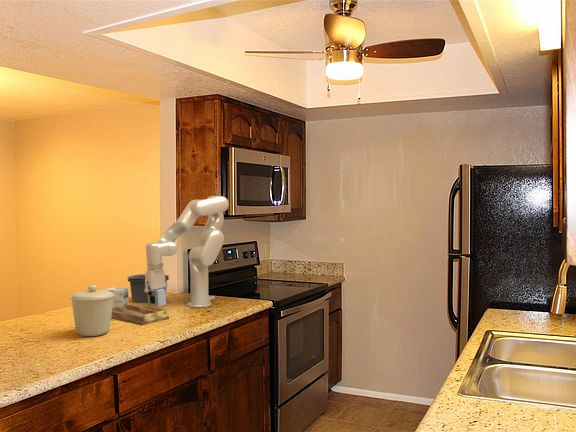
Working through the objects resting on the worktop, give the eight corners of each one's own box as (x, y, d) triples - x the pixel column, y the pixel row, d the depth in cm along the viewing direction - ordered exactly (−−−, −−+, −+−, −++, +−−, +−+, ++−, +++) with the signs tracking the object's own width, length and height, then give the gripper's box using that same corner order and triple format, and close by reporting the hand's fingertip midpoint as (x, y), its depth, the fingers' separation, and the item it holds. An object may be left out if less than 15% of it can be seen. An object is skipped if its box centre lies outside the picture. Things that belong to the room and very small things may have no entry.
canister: (81, 328, 243) (80, 281, 242) (121, 328, 243) (120, 281, 242) (63, 339, 225) (62, 288, 224) (106, 339, 225) (105, 288, 224)
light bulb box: (129, 307, 287) (129, 287, 286) (124, 310, 280) (123, 289, 279) (109, 307, 288) (109, 286, 287) (104, 310, 281) (103, 289, 280)
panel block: (155, 302, 284) (154, 287, 283) (166, 304, 279) (165, 289, 278) (148, 304, 280) (147, 289, 279) (158, 306, 275) (157, 291, 274)
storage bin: (124, 303, 298) (124, 277, 298) (138, 297, 313) (138, 273, 313) (161, 305, 294) (160, 278, 293) (173, 299, 309) (172, 274, 308)
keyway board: (129, 310, 279) (129, 302, 279) (169, 318, 262) (169, 310, 261) (102, 316, 266) (102, 307, 266) (142, 325, 249) (142, 316, 248)
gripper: (162, 263, 287) (165, 297, 288) (136, 269, 273) (138, 305, 274) (172, 264, 282) (174, 299, 284) (146, 270, 269) (148, 306, 270)
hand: (157, 301), depth 279 cm, fingers closed on panel block, 5 cm apart
